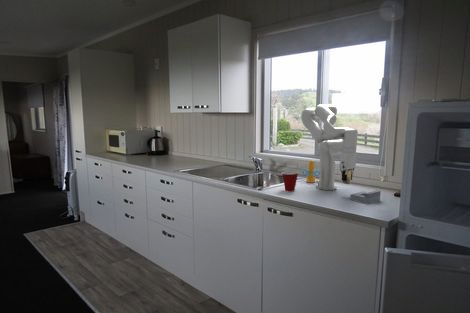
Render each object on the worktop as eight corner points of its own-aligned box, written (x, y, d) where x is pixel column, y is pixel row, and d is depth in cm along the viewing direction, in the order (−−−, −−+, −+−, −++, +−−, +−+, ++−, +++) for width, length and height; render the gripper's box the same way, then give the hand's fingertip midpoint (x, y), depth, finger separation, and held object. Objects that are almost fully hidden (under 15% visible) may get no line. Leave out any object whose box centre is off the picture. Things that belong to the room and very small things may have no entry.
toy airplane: (301, 182, 231) (301, 161, 229) (303, 179, 240) (303, 159, 239) (318, 183, 227) (319, 162, 225) (320, 180, 236) (321, 160, 234)
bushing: (341, 182, 194) (342, 169, 193) (345, 181, 197) (346, 168, 195) (347, 184, 191) (348, 171, 189) (351, 183, 193) (353, 170, 192)
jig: (350, 199, 185) (350, 190, 184) (362, 196, 192) (362, 187, 191) (368, 203, 176) (368, 194, 176) (380, 200, 183) (380, 191, 183)
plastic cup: (288, 187, 214) (288, 169, 213) (301, 190, 206) (302, 172, 205) (277, 190, 207) (277, 171, 205) (291, 193, 199) (291, 174, 198)
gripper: (352, 147, 198) (349, 177, 201) (334, 150, 188) (332, 180, 191) (363, 149, 192) (360, 179, 195) (346, 152, 182) (343, 183, 186)
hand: (346, 179), depth 193 cm, fingers closed on bushing, 4 cm apart
